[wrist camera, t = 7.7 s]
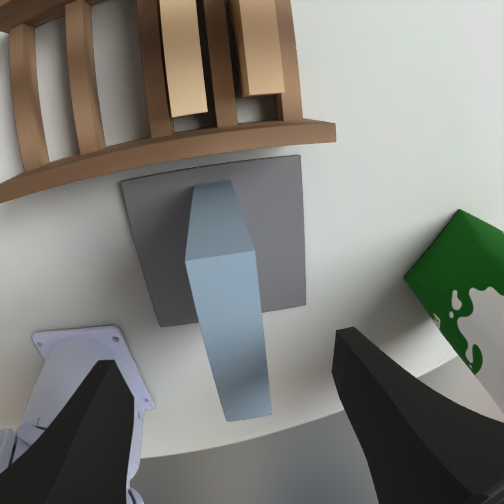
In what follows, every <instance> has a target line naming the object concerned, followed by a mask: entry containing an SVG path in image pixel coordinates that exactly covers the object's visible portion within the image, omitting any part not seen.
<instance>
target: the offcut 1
mask: <svg viewBox="0 0 504 504" xmlns="http://www.w3.org/2000/svg"><path fill="white" fill-rule="evenodd" d="M160 12H161V24H162V35H163V45H164V55H165V64H166V73H167V82H168V90H169V98H170V106H171V113H172V117H177V116H183V115H189V114H195V113H202V112H208V110H207V102H206V93H205V85H204V76H203V67H202V58H201V49H200V40H199V30H198V20H197V10H196V0H160Z"/></svg>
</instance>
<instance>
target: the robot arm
mask: <svg viewBox="0 0 504 504" xmlns="http://www.w3.org/2000/svg"><path fill="white" fill-rule="evenodd" d="M114 337H117V338H118V339H116V338H114ZM32 340H33V342H34V343H35V345H36V347H37V349H38V350H39V352H40V354H41V355H42V357H43V359H44V360H45V363H44V365H43V367H42V369H41V372H40V374H39V376H38V379H37V381H36V383H35V386H34V388H33V390H32V393H31V395H30V398H29V400H28V403H27V405H26V408H25V411H24V413H23V416H22V419H21V421H20V424H19V427H18V429H17V431H16V432H14V431H13V430H11V429H10V428H8V427H7V428H5V429H4V430H3V429H2V430H0V504H144V502H143V500H142V498H141V496H140V495H139V494H138V493H137V491H135V490H134V489H132V488H130V487H129V486H130V484H129V483H130V479H132V478H133V476H134V475H135V474H136V472H137V470H138V467H139V464H140V456H141V443H142V432H143V421H144V412H145V410H153V409H155V403H154V401H153V399H152V397H151V395H150V393H149V391H148V389H147V387H146V385H145V383H144V381H143V379H142V377H141V375H140V373H139V371H138V369H137V367H136V364H135V362H134V360H133V358H132V356H131V353H130V351H129V349H128V347H127V344H126V342H125V340H124V337H123V335H122V333H121V330H120V329H119V328H118V327H117V326H102V327H92V328H81V329H69V330H56V331H43V332H34V333H33V335H32ZM39 342H40V343H39ZM332 375H333V378H334V382H335V385H336V388H337V391H338V395H339V398H340V400H341V402H342V405H343V407H344V409H345V411H346V414H347V416H348V418H349V420H350V422H351V425H352V427H353V429H354V431H355V433H356V435H357V438H358V440H359V442H360V444H361V447H362V449H363V452H364V454H365V457H366V459H367V462H368V466H369V469H370V472H371V476H372V479H373V483H374V486H375V490H376V493H377V498H378V501H379V504H504V423H503V422H500V421H497V420H494V419H491V418H488V417H485V416H483V415H480V414H478V413H476V412H474V411H472V410H470V409H467V408H465V407H463V406H461V405H459V404H457V403H455V402H453V401H452V400H450V399H448V398H446V397H445V396H443V395H441V394H440V393H438V392H436V391H434V390H433V389H431V388H430V387H428V386H427V385H425V384H424V383H422V382H421V381H419V380H418V379H417V378H415V377H414V376H413V375H411V374H410V373H409V372H407V371H406V370H405V369H403V368H402V367H401V366H400V365H398V364H397V363H396V362H395V361H393V360H392V359H391V358H390V357H388V356H387V355H386V354H385V353H384V352H383V351H381V350H380V349H379V348H378V347H377V346H376V345H374V344H373V343H372V342H371V341H370V340H369V339H368V338H366V337H365V336H364V335H363V334H362V333H361V332H359V331H358V330H357V329H356V328H355V327H350V328H345V329H341V330H336V337H335V347H334V357H333V366H332Z"/></svg>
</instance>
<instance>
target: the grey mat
mask: <svg viewBox="0 0 504 504" xmlns="http://www.w3.org/2000/svg"><path fill="white" fill-rule="evenodd" d="M225 180H231V182H232V185H233V188H234V191H235V194H236V197H237V200H238V202H239V205H240V208H241V211H242V214H243V217H244V220H245V223H246V226H247V229H248V232H249V234H250V237H251V240H252V243H253V246H254V249H255V255H256V265H257V274H258V284H259V293H260V303H261V312H262V313H263V312H269V311H275V310H281V309H286V308H292V307H297V306H303V305H306V276H305V237H304V210H303V189H302V171H301V156H300V155H289V156H279V157H269V158H260V159H252V160H244V161H236V162H228V163H221V164H214V165H207V166H200V167H194V168H188V169H182V170H176V171H170V172H164V173H159V174H153V175H148V176H143V177H138V178H133V179H128V180H123V181H122V182H121V185H122V190H123V194H124V199H125V203H126V208H127V212H128V216H129V221H130V225H131V229H132V233H133V237H134V240H135V244H136V248H137V252H138V256H139V259H140V263H141V266H142V270H143V273H144V277H145V280H146V284H147V287H148V290H149V294H150V297H151V300H152V303H153V306H154V310H155V313H156V316H157V319H158V322H159V325H160V327H167V326H175V325H183V324H190V323H197V322H199V320H198V316H197V312H196V307H195V303H194V299H193V295H192V290H191V286H190V282H189V277H188V273H187V268H186V264H185V256H186V246H187V238H188V229H189V221H190V213H191V205H192V198H193V190H194V185H198V184H205V183H212V182H218V181H225Z"/></svg>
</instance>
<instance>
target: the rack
mask: <svg viewBox="0 0 504 504" xmlns="http://www.w3.org/2000/svg"><path fill="white" fill-rule="evenodd" d="M104 1H108V0H0V31H1V32H5V33H9V55H10V75H11V87H12V98H13V106H14V114H15V121H16V128H17V134H18V140H19V146H20V151H21V156H22V161H23V166H24V170H25V172H23V173H21V174H19V175H17V176H15V177H13V178H11V179H9V180H7V181H5V182H3V183H1V184H0V203H3V202H6V201H9V200H13V199H16V198H19V197H22V196H25V195H29V194H32V193H35V192H39V191H42V190H46V189H49V188H53V187H56V186H60V185H64V184H68V183H71V182H75V181H79V180H83V179H87V178H91V177H96V176H100V175H104V174H108V173H113V172H117V171H122V170H127V169H132V168H136V167H141V166H146V165H152V164H157V163H162V162H168V161H174V160H179V159H185V158H192V157H198V156H204V155H211V154H218V153H226V152H233V151H241V150H249V149H258V148H268V147H278V146H288V145H300V144H314V143H330V142H336V126H335V123H330V122H324V121H318V120H311V119H304V118H303V115H302V103H301V91H300V80H299V70H298V61H297V51H296V42H295V34H294V26H293V18H292V10H291V3H290V0H274V1H275V9H276V16H277V24H278V33H279V41H280V50H281V59H282V69H283V79H284V89H285V93H279V94H275V99H276V110H277V120H267V121H257V122H247V123H238V120H237V111H236V101H235V92H234V83H233V74H232V65H231V56H230V47H229V38H228V29H227V20H226V11H225V2H224V0H203V6H204V16H205V26H206V35H207V45H208V54H209V63H210V72H211V81H212V89H213V98H214V106H215V115H216V123H217V126H214V127H207V128H200V129H194V130H188V131H181V132H176V133H174V126H173V119H172V113H171V106H170V98H169V90H168V82H167V73H166V64H165V55H164V45H163V35H162V24H161V12H160V0H137V13H138V26H139V39H140V49H141V59H142V69H143V78H144V86H145V94H146V102H147V109H148V116H149V123H150V130H151V136H152V137H149V138H144V139H139V140H134V141H130V142H125V143H121V144H117V145H112V146H108V147H106V145H105V139H104V133H103V127H102V120H101V114H100V107H99V99H98V92H97V83H96V74H95V64H94V53H93V39H92V22H91V5H95V4H98V3H101V2H104ZM63 15H65V21H66V45H67V59H68V71H69V81H70V90H71V98H72V106H73V113H74V120H75V126H76V132H77V138H78V143H79V149H80V154H77V155H74V156H70V157H67V158H63V159H60V160H57V161H53V162H50V161H49V157H48V152H47V146H46V141H45V135H44V129H43V123H42V116H41V109H40V101H39V93H38V83H37V72H36V57H35V27H37V26H39V25H42V24H44V23H46V22H49V21H51V20H53V19H56V18H58V17H61V16H63Z"/></svg>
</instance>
